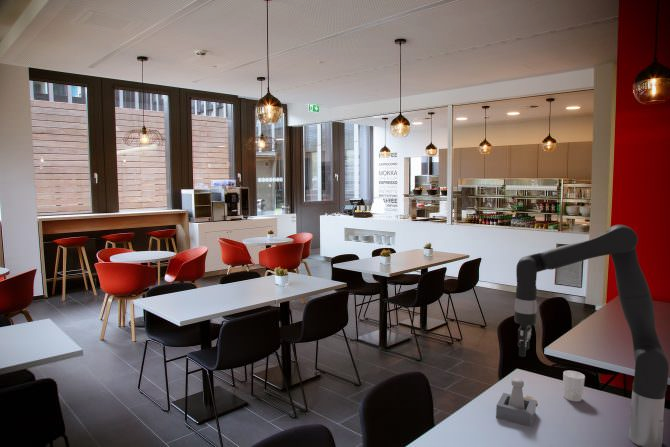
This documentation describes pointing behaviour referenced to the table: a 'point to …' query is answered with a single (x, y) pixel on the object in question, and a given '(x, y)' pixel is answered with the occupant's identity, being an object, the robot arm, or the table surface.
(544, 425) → the table surface
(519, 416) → the well
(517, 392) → the salt shaker
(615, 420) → the table surface
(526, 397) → the cork coaster
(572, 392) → the white cup
